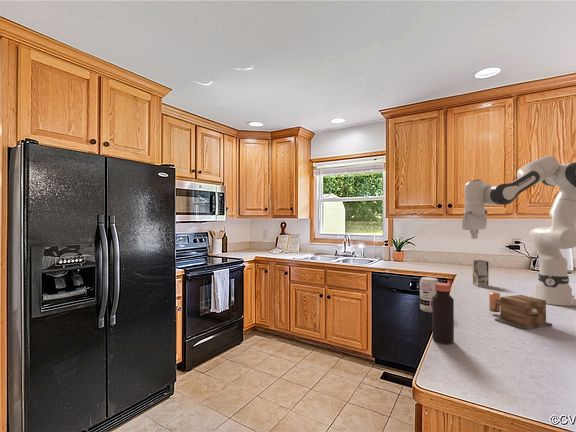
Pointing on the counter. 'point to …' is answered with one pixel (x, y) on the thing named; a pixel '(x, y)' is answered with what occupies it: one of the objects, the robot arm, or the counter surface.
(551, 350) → the counter surface
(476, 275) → the coffee box
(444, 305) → the bottle
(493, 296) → the shaft
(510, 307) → the block
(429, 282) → the supplement can
